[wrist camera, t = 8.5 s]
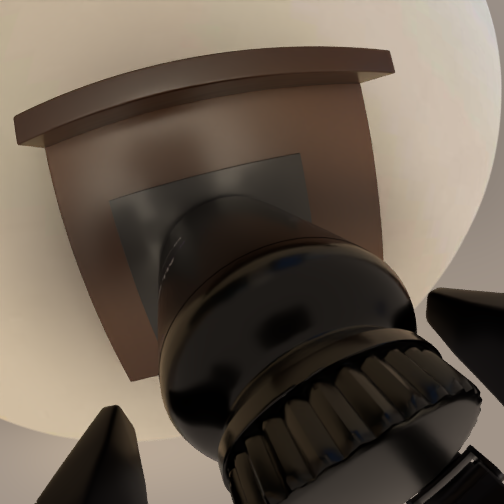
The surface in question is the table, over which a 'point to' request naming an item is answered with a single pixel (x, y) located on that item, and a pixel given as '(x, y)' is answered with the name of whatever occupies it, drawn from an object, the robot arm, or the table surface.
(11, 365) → the table surface
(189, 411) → the supplement bottle
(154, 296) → the shelf
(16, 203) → the table surface
